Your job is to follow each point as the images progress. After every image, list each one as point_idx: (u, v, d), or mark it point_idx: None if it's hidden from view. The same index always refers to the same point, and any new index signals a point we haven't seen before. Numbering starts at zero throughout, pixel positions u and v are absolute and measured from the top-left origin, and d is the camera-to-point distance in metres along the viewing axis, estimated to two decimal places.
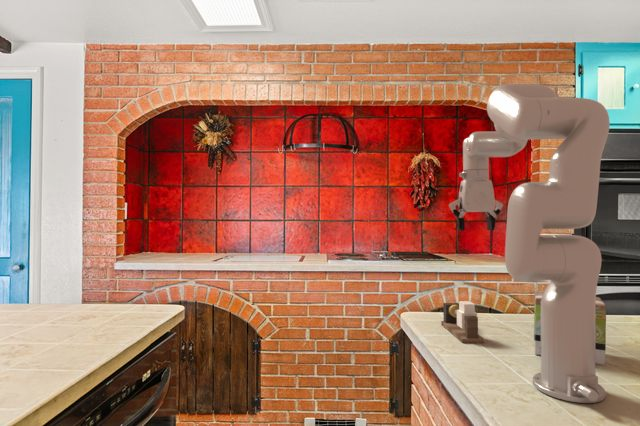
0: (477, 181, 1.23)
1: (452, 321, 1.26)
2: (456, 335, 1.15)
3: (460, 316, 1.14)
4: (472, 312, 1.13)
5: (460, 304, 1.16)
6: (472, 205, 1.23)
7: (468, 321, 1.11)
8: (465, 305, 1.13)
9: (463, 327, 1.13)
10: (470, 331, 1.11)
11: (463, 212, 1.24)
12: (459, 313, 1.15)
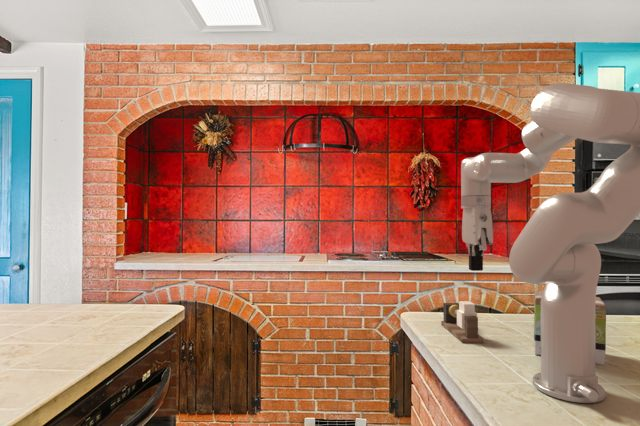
0: None
1: (452, 321, 1.26)
2: (456, 335, 1.15)
3: (460, 316, 1.14)
4: (472, 312, 1.13)
5: (460, 304, 1.16)
6: None
7: (468, 321, 1.11)
8: (465, 305, 1.13)
9: (463, 327, 1.13)
10: (470, 331, 1.11)
11: None
12: (459, 313, 1.15)
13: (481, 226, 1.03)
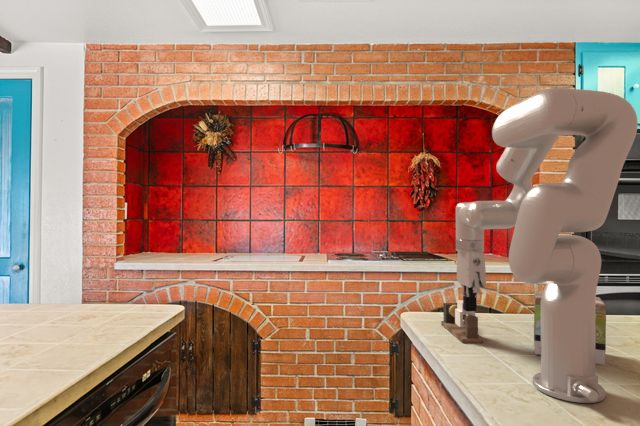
0: None
1: (452, 321, 1.26)
2: (456, 335, 1.15)
3: (458, 315, 1.15)
4: (470, 311, 1.14)
5: (458, 303, 1.17)
6: None
7: (468, 321, 1.11)
8: None
9: (461, 326, 1.14)
10: (470, 331, 1.11)
11: None
12: (457, 312, 1.16)
13: (474, 270, 1.08)
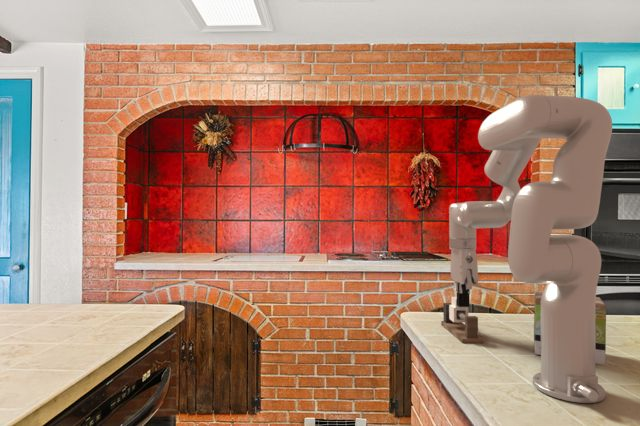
0: None
1: (452, 321, 1.26)
2: (456, 335, 1.15)
3: (452, 310, 1.20)
4: (463, 307, 1.19)
5: (452, 299, 1.22)
6: None
7: (468, 321, 1.11)
8: None
9: (455, 321, 1.19)
10: (470, 331, 1.11)
11: None
12: (451, 308, 1.21)
13: (467, 267, 1.13)
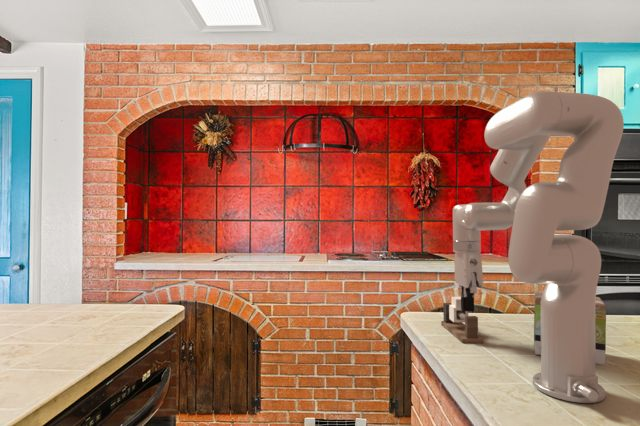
0: None
1: (452, 321, 1.26)
2: (456, 335, 1.15)
3: (452, 310, 1.20)
4: None
5: (452, 299, 1.22)
6: None
7: (468, 321, 1.11)
8: (457, 300, 1.19)
9: (455, 321, 1.19)
10: (470, 331, 1.11)
11: None
12: (451, 308, 1.21)
13: (471, 270, 1.10)
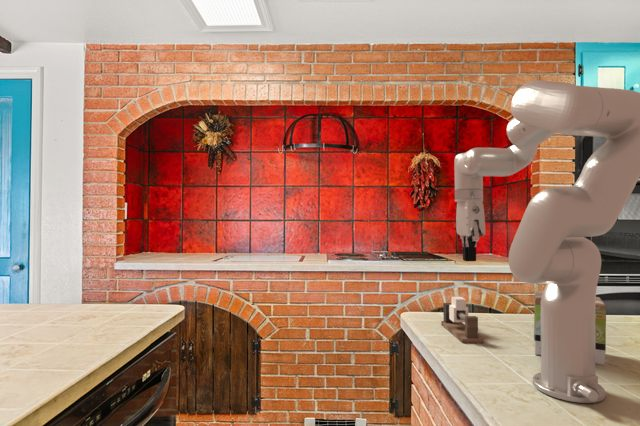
0: None
1: (452, 321, 1.26)
2: (456, 335, 1.15)
3: (452, 310, 1.20)
4: (463, 307, 1.19)
5: (452, 299, 1.22)
6: None
7: (468, 321, 1.11)
8: (457, 300, 1.19)
9: (455, 321, 1.19)
10: (470, 331, 1.11)
11: None
12: (451, 308, 1.21)
13: (474, 218, 1.08)
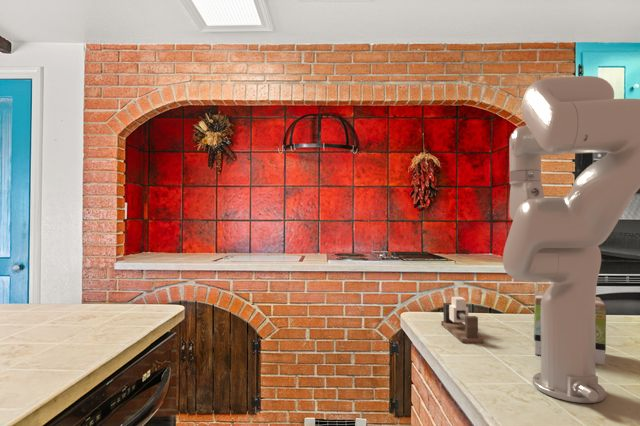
0: None
1: (452, 321, 1.26)
2: (456, 335, 1.15)
3: (452, 310, 1.20)
4: (463, 307, 1.19)
5: (452, 299, 1.22)
6: None
7: (468, 321, 1.11)
8: (457, 300, 1.19)
9: (455, 321, 1.19)
10: (470, 331, 1.11)
11: None
12: (451, 308, 1.21)
13: None
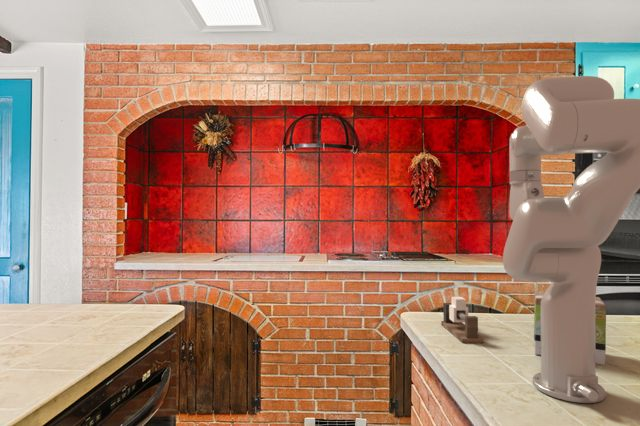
0: None
1: (452, 321, 1.26)
2: (456, 335, 1.15)
3: (452, 310, 1.20)
4: (463, 307, 1.19)
5: (452, 299, 1.22)
6: None
7: (468, 321, 1.11)
8: (457, 300, 1.19)
9: (455, 321, 1.19)
10: (470, 331, 1.11)
11: None
12: (451, 308, 1.21)
13: None
